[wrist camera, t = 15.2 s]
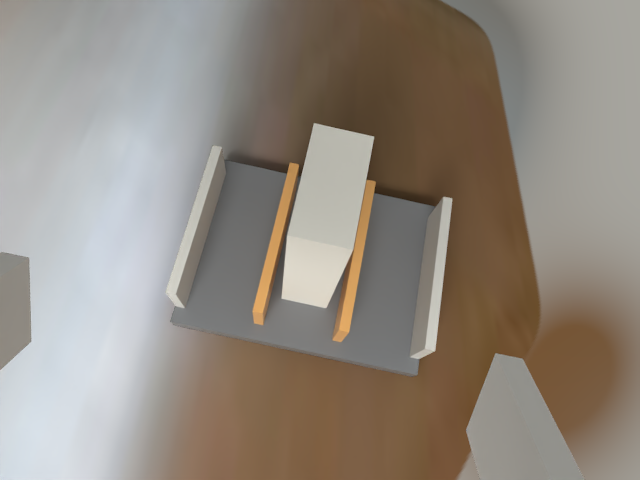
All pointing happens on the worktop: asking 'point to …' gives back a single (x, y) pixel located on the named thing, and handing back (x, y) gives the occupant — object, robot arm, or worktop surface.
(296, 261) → the panel
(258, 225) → the rack
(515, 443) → the robot arm
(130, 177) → the worktop surface
